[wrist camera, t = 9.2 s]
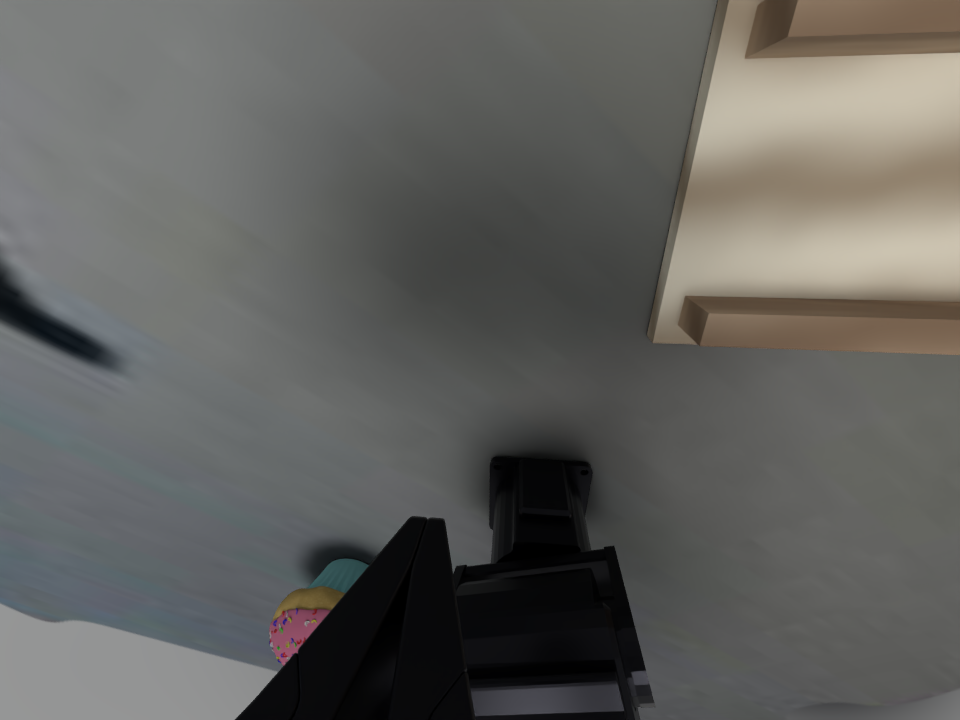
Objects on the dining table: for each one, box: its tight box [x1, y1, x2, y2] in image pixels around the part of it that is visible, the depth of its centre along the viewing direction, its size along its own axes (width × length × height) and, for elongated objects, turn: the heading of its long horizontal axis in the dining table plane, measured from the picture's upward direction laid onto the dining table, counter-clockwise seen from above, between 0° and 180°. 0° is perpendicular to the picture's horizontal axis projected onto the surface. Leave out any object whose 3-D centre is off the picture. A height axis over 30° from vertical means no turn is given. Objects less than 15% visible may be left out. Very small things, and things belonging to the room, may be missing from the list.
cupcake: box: [269, 559, 369, 666], centre depth 27 cm, size 9×8×12 cm
